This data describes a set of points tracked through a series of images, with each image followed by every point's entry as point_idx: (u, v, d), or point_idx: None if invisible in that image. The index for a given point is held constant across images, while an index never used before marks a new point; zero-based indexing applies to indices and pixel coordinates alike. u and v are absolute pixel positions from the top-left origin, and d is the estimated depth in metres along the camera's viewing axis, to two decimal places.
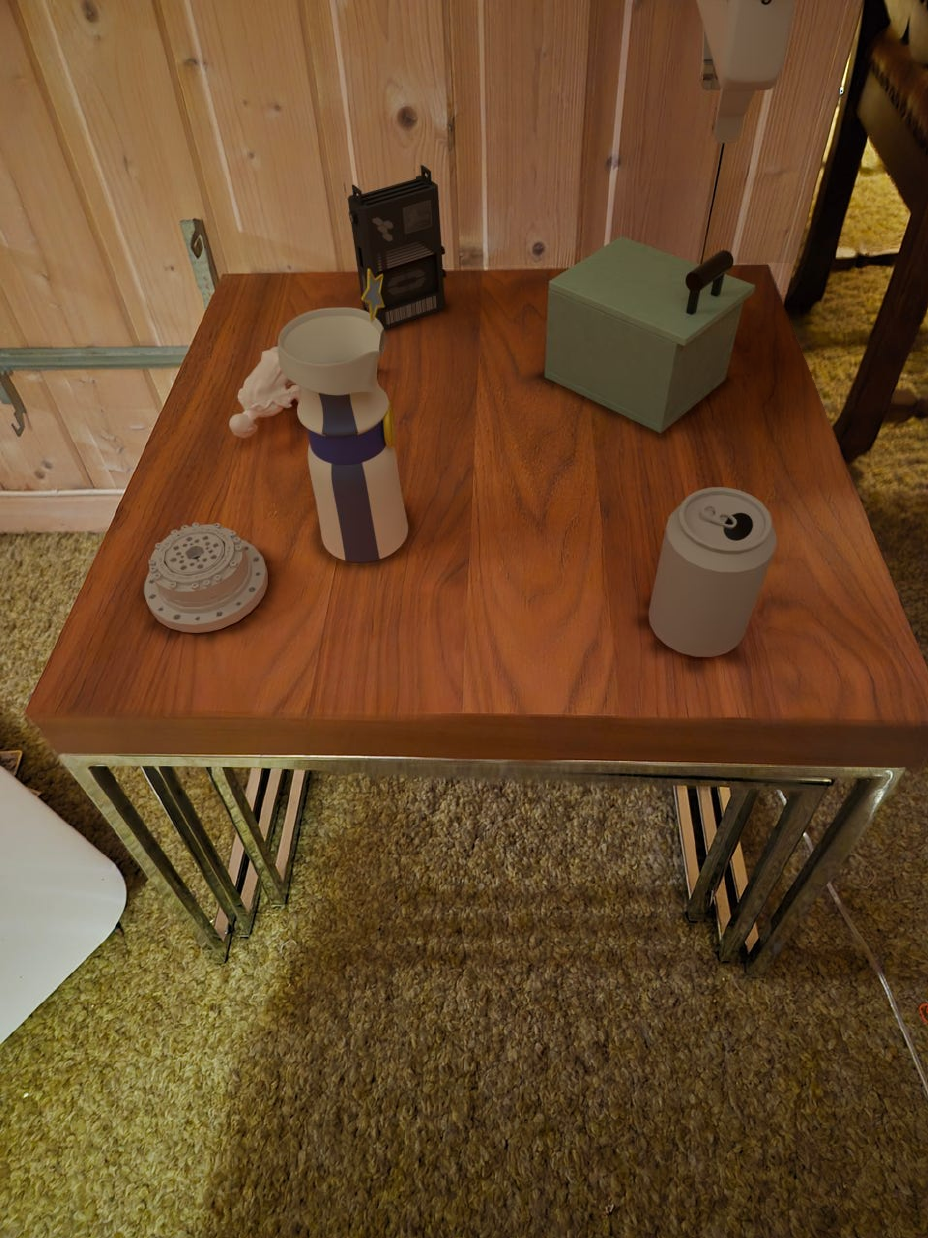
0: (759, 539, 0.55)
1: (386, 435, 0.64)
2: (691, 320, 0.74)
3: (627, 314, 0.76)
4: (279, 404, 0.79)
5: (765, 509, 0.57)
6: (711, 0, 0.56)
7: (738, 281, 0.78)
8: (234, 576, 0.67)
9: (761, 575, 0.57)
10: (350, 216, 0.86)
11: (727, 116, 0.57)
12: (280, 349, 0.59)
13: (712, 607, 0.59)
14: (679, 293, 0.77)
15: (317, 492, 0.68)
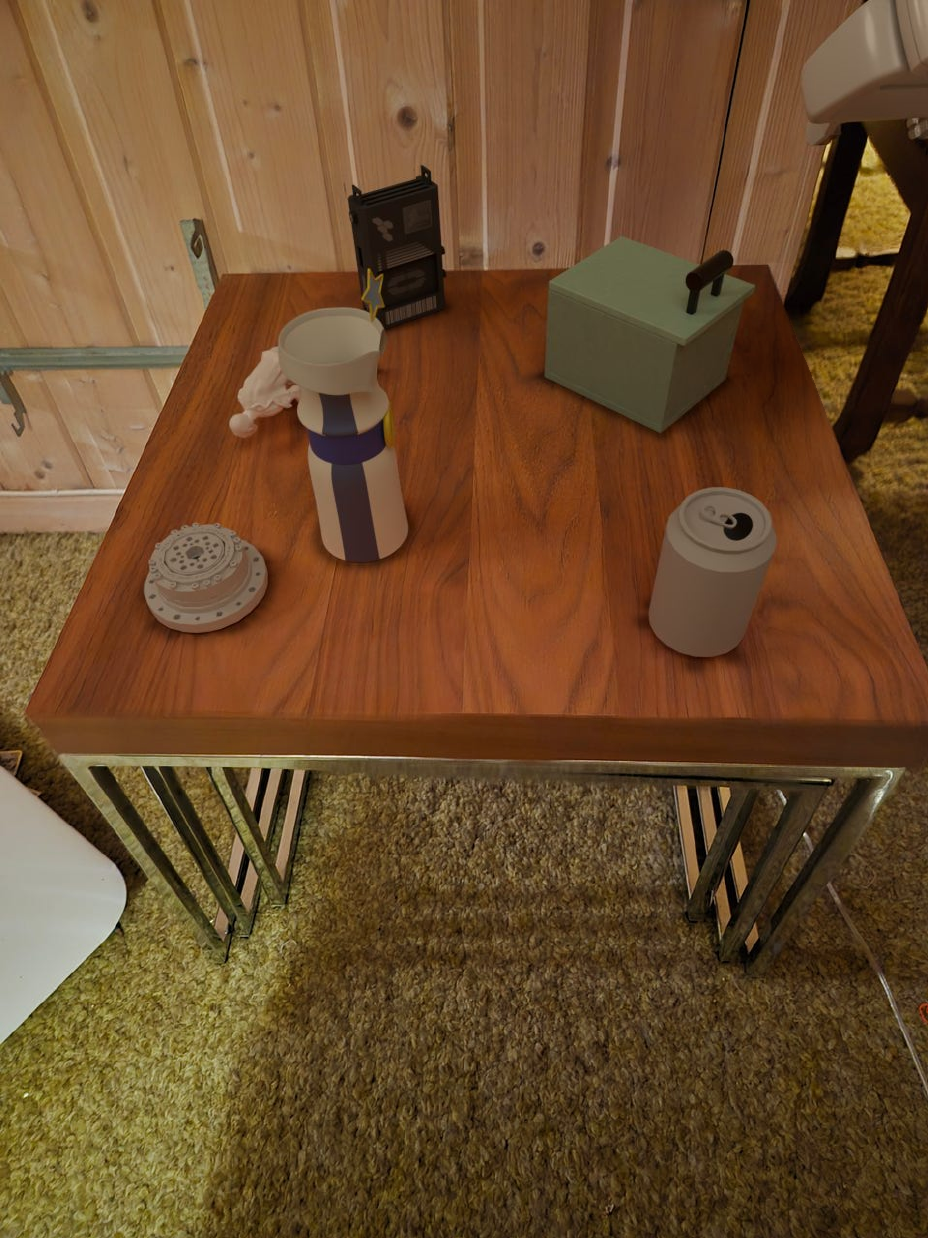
0: (759, 539, 0.55)
1: (386, 435, 0.64)
2: (691, 320, 0.74)
3: (627, 314, 0.76)
4: (279, 404, 0.79)
5: (765, 509, 0.57)
6: None
7: (738, 281, 0.78)
8: (234, 576, 0.67)
9: (761, 575, 0.57)
10: (350, 216, 0.86)
11: None
12: (280, 349, 0.59)
13: (712, 607, 0.59)
14: (679, 293, 0.77)
15: (317, 492, 0.68)
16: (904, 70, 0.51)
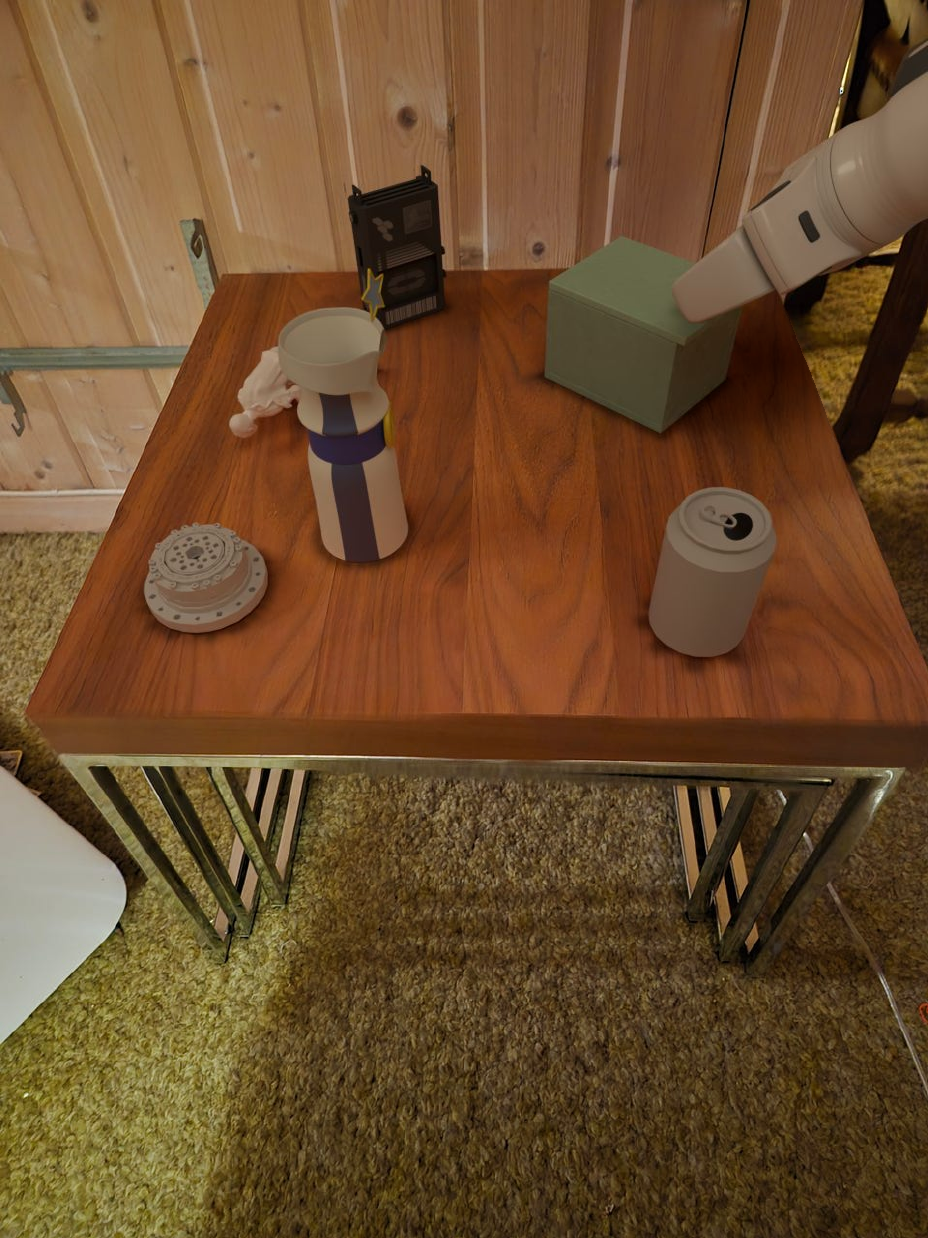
0: (759, 539, 0.55)
1: (386, 435, 0.64)
2: None
3: (627, 314, 0.76)
4: (279, 404, 0.79)
5: (765, 509, 0.57)
6: None
7: None
8: (234, 576, 0.67)
9: (761, 575, 0.57)
10: (350, 216, 0.86)
11: None
12: (280, 349, 0.59)
13: (712, 607, 0.59)
14: None
15: (317, 492, 0.68)
16: (771, 290, 0.62)
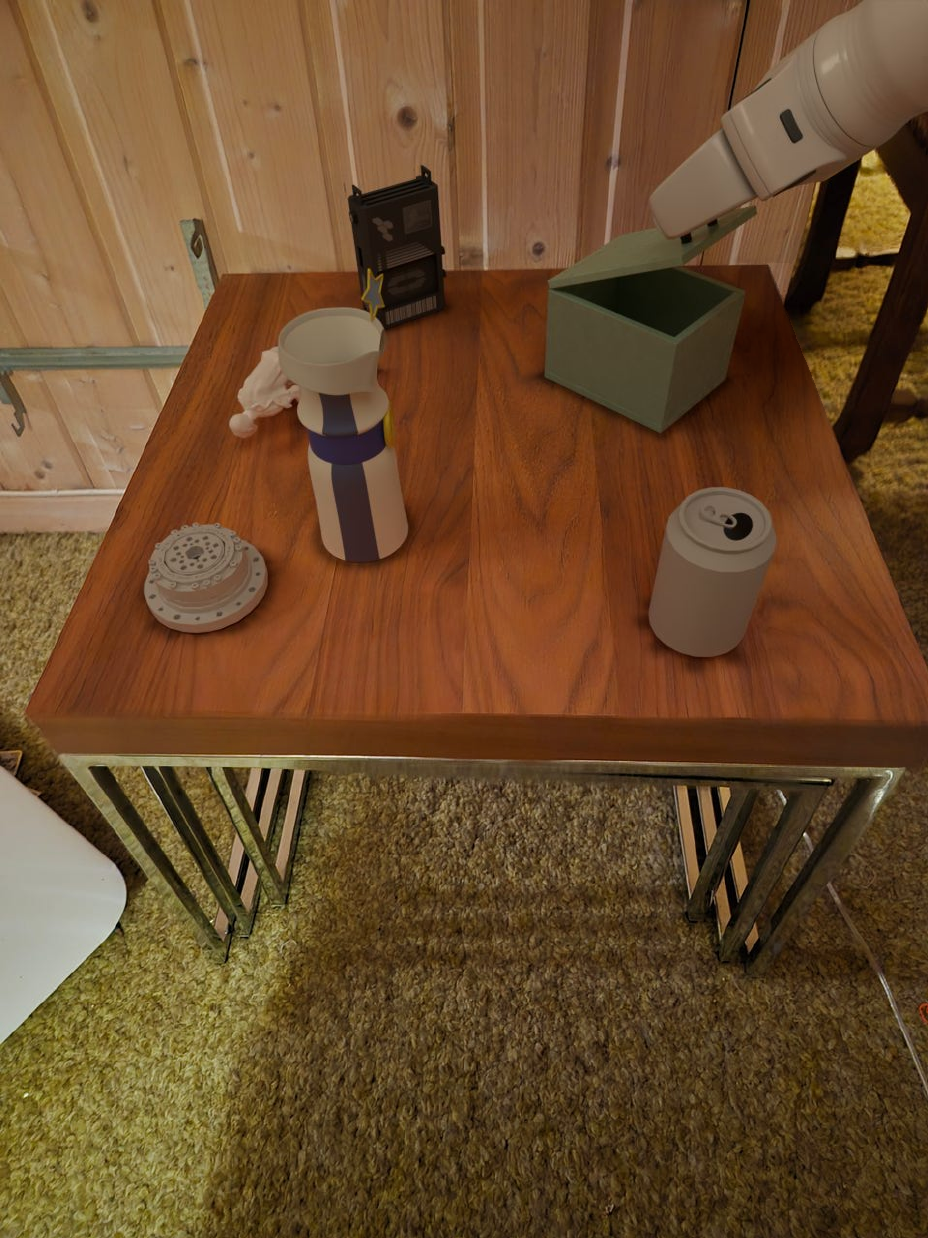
0: (759, 539, 0.55)
1: (386, 435, 0.64)
2: (687, 245, 0.70)
3: (622, 267, 0.73)
4: (279, 404, 0.79)
5: (765, 509, 0.57)
6: None
7: (737, 210, 0.74)
8: (234, 576, 0.67)
9: (761, 575, 0.57)
10: (350, 216, 0.86)
11: None
12: (280, 349, 0.59)
13: (712, 607, 0.59)
14: None
15: (317, 492, 0.68)
16: (752, 197, 0.59)
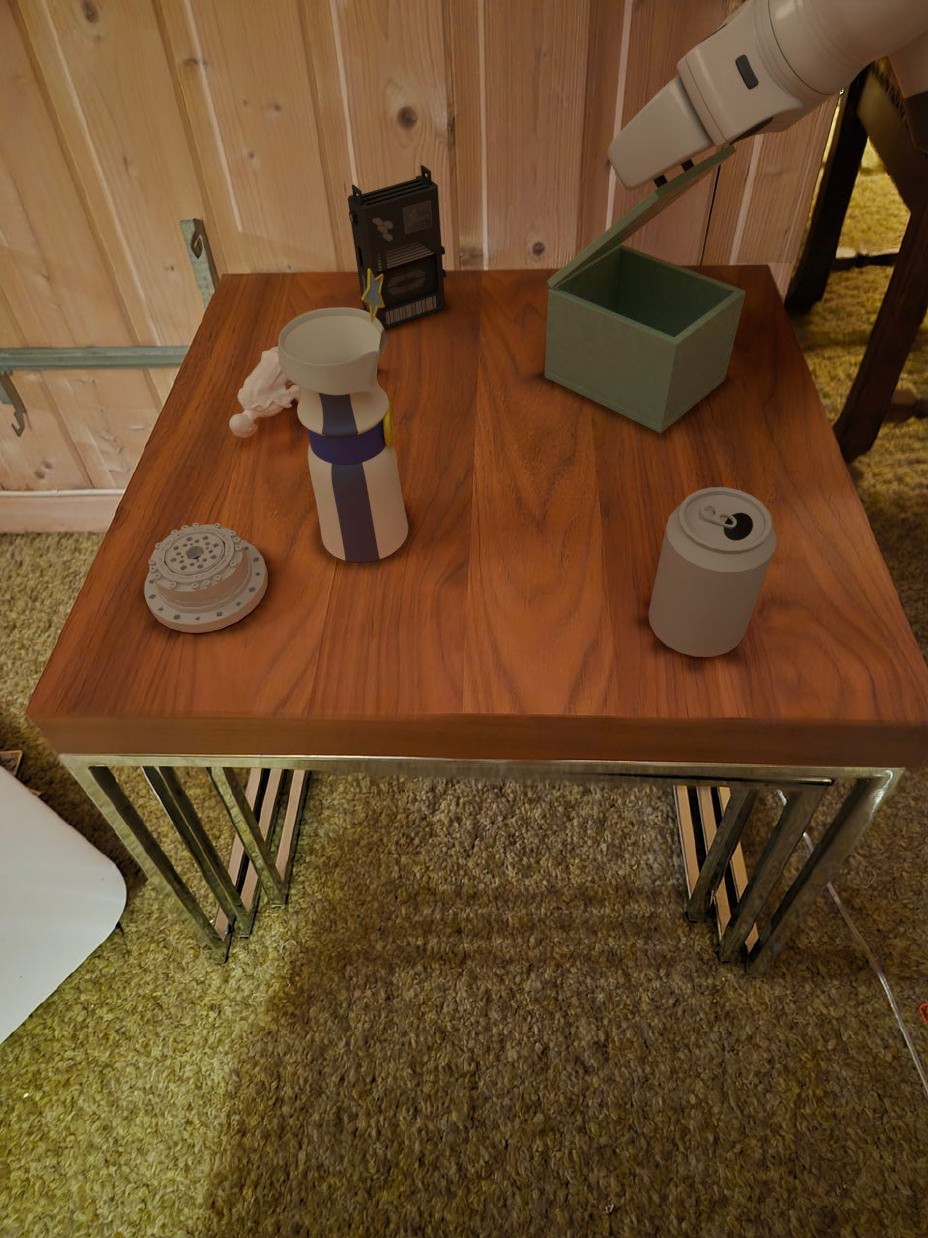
0: (759, 539, 0.55)
1: (386, 435, 0.64)
2: None
3: (606, 231, 0.72)
4: (279, 404, 0.79)
5: (765, 509, 0.57)
6: None
7: None
8: (234, 576, 0.67)
9: (761, 575, 0.57)
10: (350, 216, 0.86)
11: None
12: (280, 349, 0.59)
13: (712, 607, 0.59)
14: None
15: (317, 492, 0.68)
16: (709, 145, 0.59)
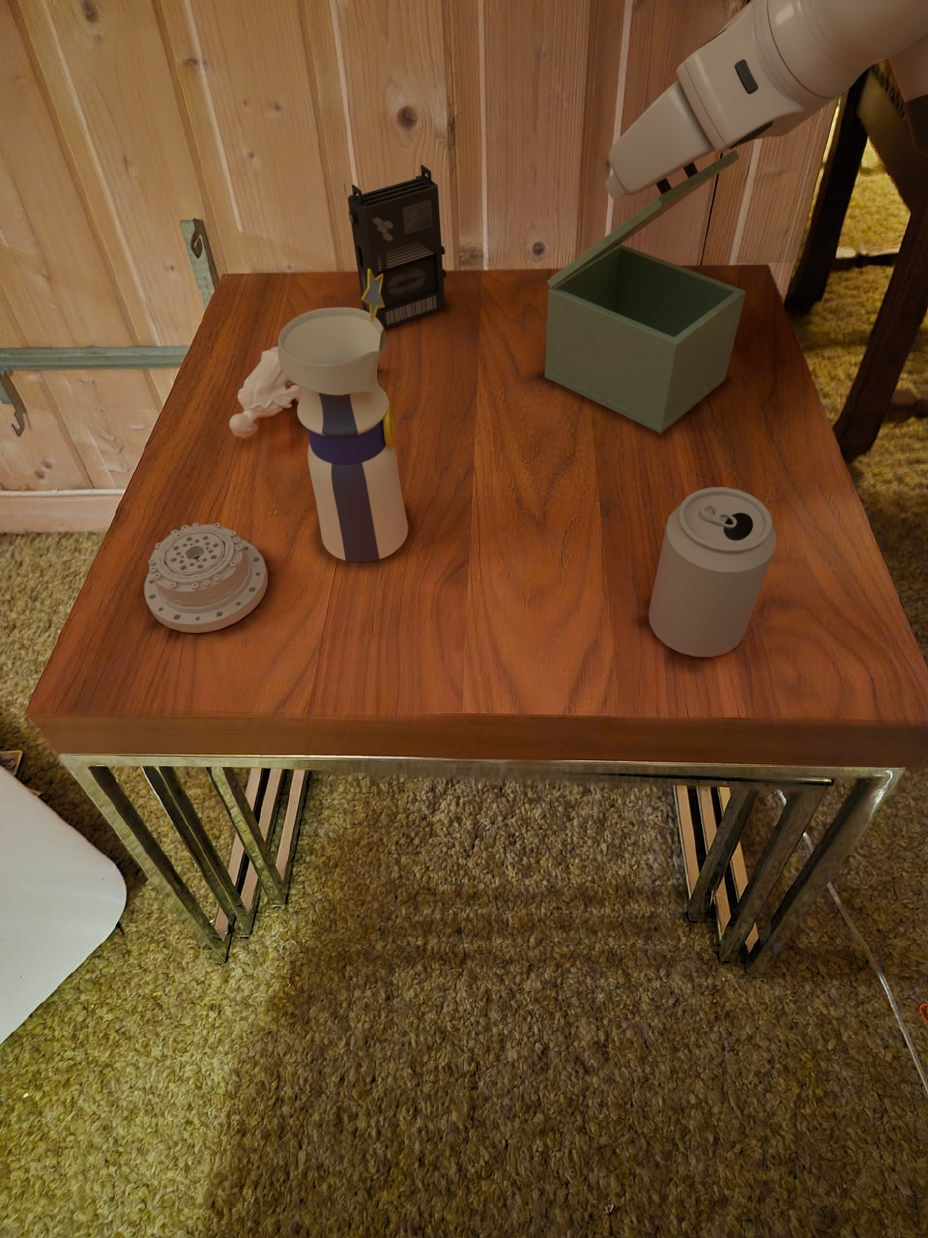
0: (759, 539, 0.55)
1: (386, 435, 0.64)
2: None
3: (608, 235, 0.72)
4: (279, 404, 0.79)
5: (765, 509, 0.57)
6: None
7: None
8: (234, 576, 0.67)
9: (761, 575, 0.57)
10: (350, 216, 0.86)
11: None
12: (280, 349, 0.59)
13: (712, 607, 0.59)
14: None
15: (317, 492, 0.68)
16: (709, 149, 0.59)
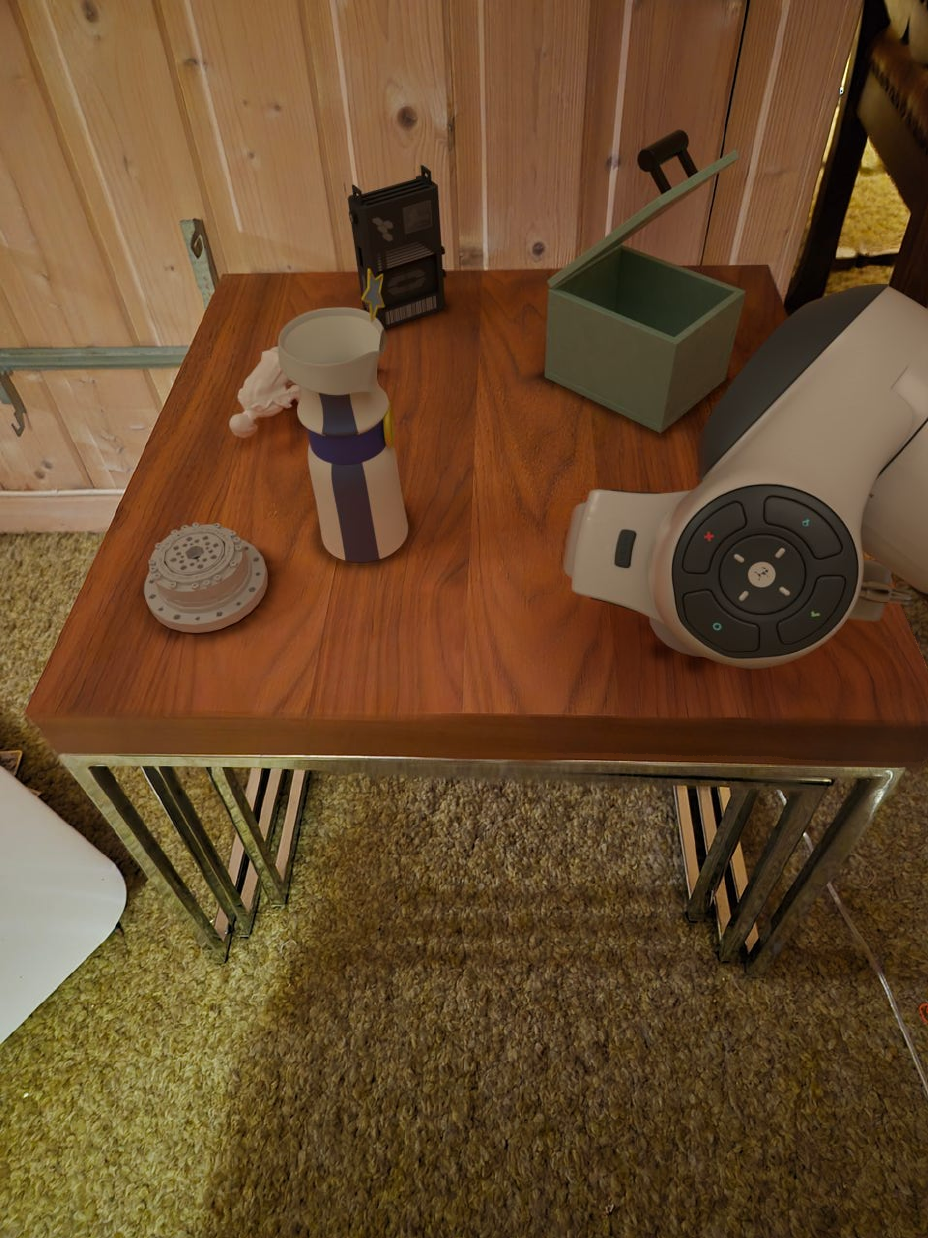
0: None
1: (386, 435, 0.64)
2: None
3: (608, 235, 0.72)
4: (279, 404, 0.79)
5: None
6: None
7: None
8: (234, 576, 0.67)
9: None
10: (350, 216, 0.86)
11: None
12: (280, 349, 0.59)
13: None
14: None
15: (317, 492, 0.68)
16: None
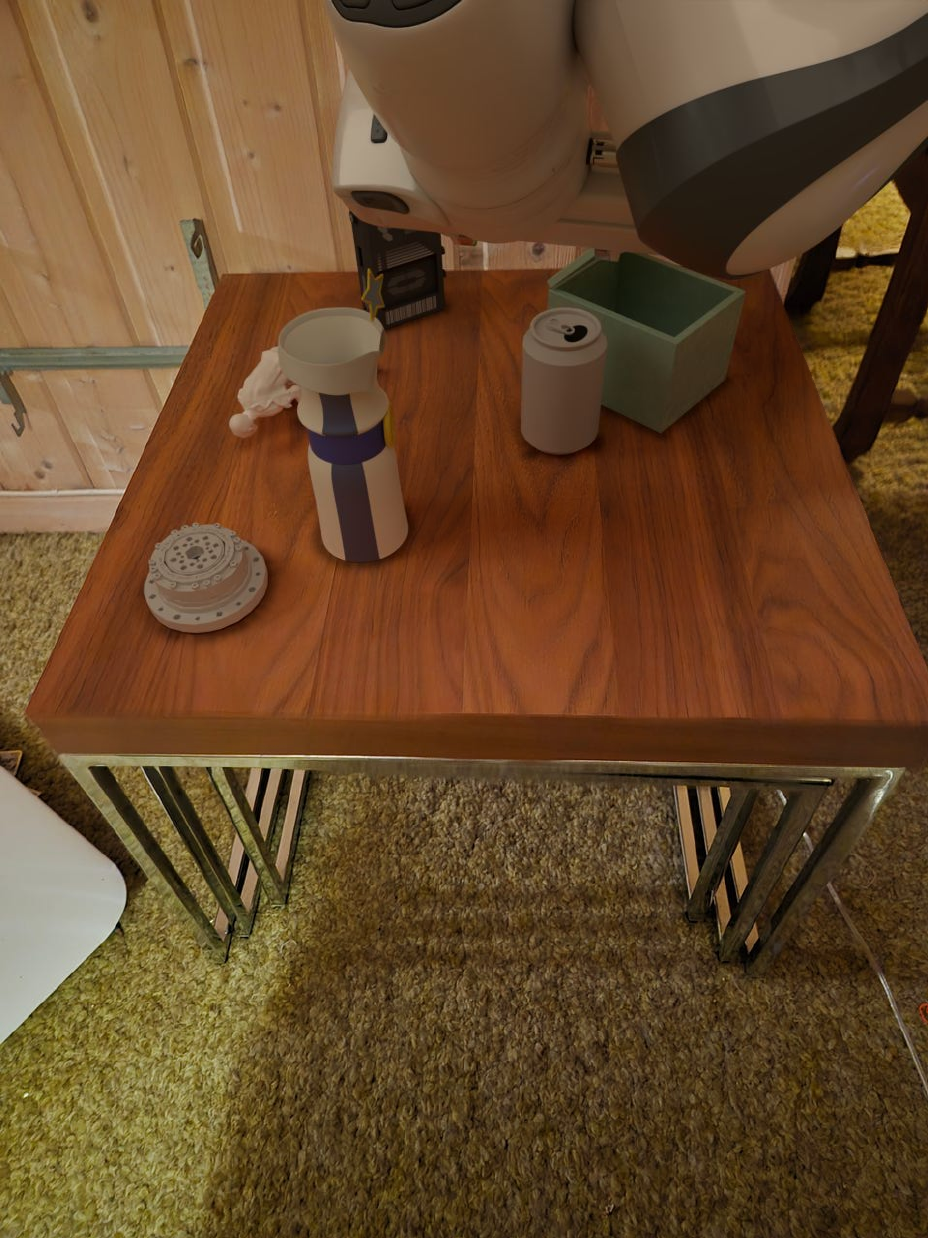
0: (588, 339, 0.71)
1: (386, 435, 0.64)
2: None
3: None
4: (279, 404, 0.79)
5: (597, 320, 0.73)
6: None
7: None
8: (234, 576, 0.67)
9: (595, 373, 0.73)
10: (350, 216, 0.86)
11: None
12: (280, 349, 0.59)
13: (559, 401, 0.74)
14: None
15: (317, 492, 0.68)
16: None
